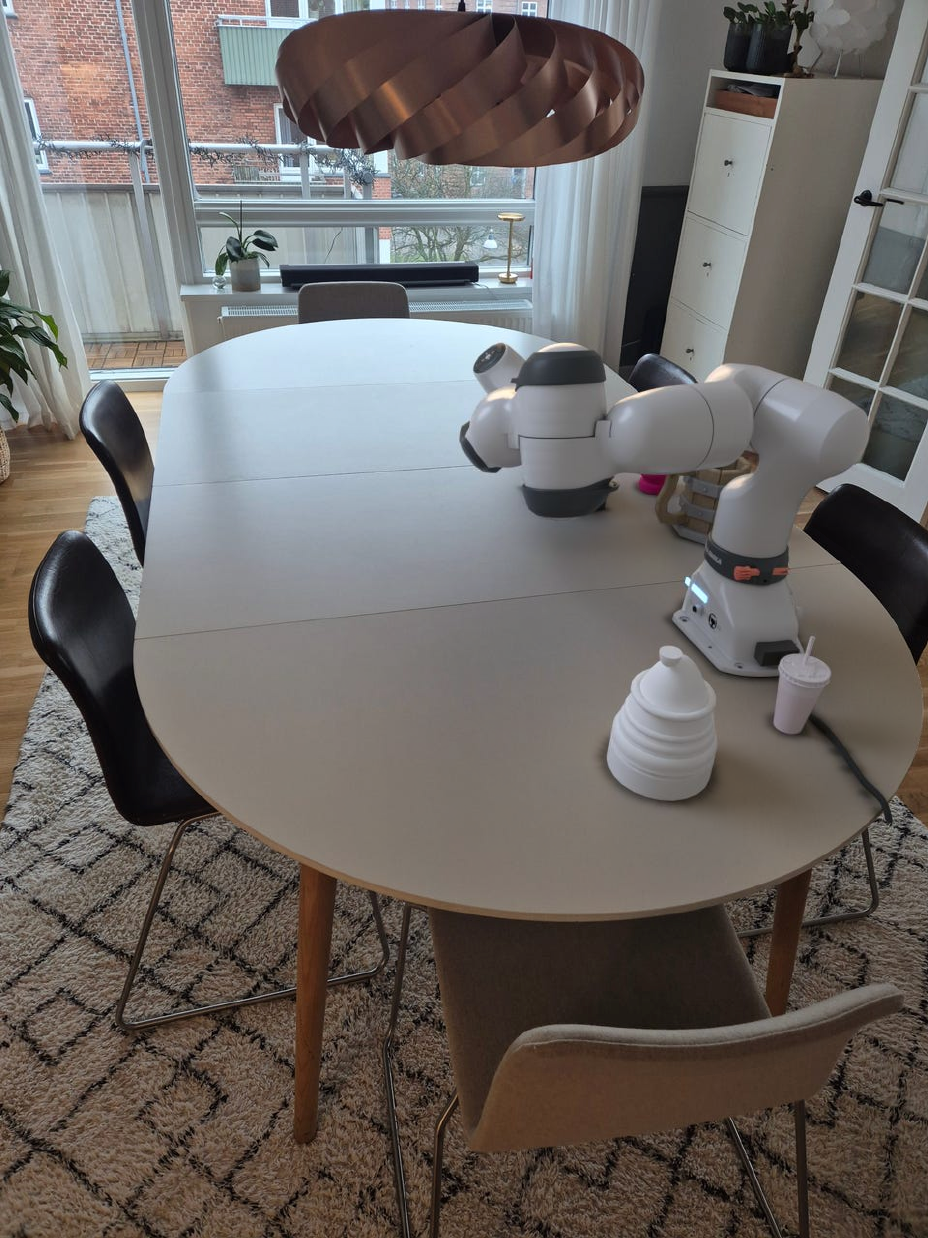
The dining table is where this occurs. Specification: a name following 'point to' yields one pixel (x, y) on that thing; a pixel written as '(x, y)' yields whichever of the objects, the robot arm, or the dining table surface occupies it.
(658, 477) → the pepper mill
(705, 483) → the tankard
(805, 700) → the smoothie
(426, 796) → the dining table surface
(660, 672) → the honey pot
